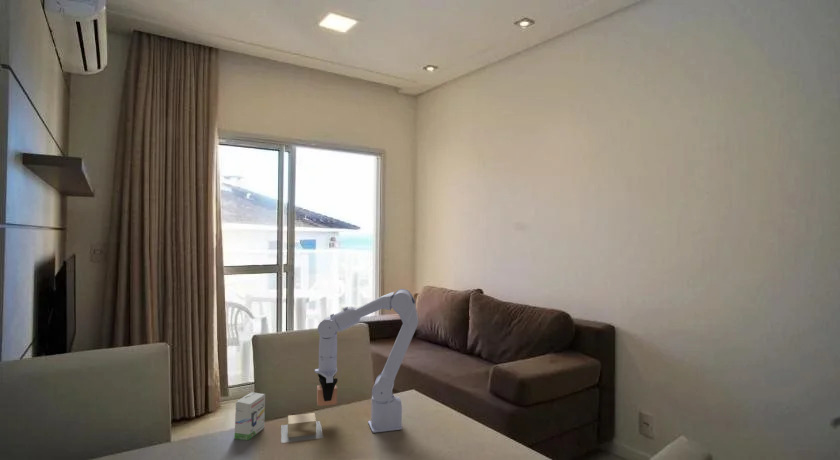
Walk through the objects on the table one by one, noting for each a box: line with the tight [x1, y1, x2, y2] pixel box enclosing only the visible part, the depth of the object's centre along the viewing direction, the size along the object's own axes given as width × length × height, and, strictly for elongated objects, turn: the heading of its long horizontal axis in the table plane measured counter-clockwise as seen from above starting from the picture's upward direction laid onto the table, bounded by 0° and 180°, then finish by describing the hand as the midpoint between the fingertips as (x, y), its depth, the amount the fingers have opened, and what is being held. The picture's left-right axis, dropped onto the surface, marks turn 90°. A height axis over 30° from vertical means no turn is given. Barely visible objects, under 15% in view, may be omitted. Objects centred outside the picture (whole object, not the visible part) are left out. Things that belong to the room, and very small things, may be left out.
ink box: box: [233, 391, 266, 441], centre depth 134 cm, size 9×5×12 cm, turn 168°
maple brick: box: [287, 412, 317, 437], centre depth 136 cm, size 8×6×4 cm
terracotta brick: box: [316, 384, 338, 407], centre depth 143 cm, size 6×4×5 cm, turn 107°
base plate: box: [280, 420, 324, 444], centre depth 136 cm, size 12×12×1 cm
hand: (326, 397), depth 143 cm, fingers closed on terracotta brick, 4 cm apart
